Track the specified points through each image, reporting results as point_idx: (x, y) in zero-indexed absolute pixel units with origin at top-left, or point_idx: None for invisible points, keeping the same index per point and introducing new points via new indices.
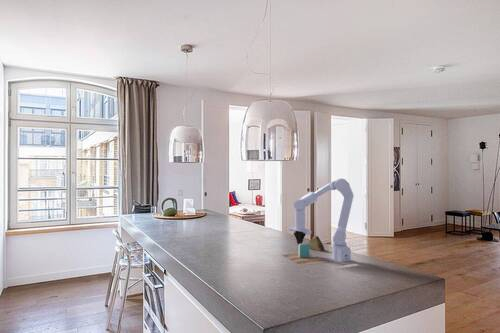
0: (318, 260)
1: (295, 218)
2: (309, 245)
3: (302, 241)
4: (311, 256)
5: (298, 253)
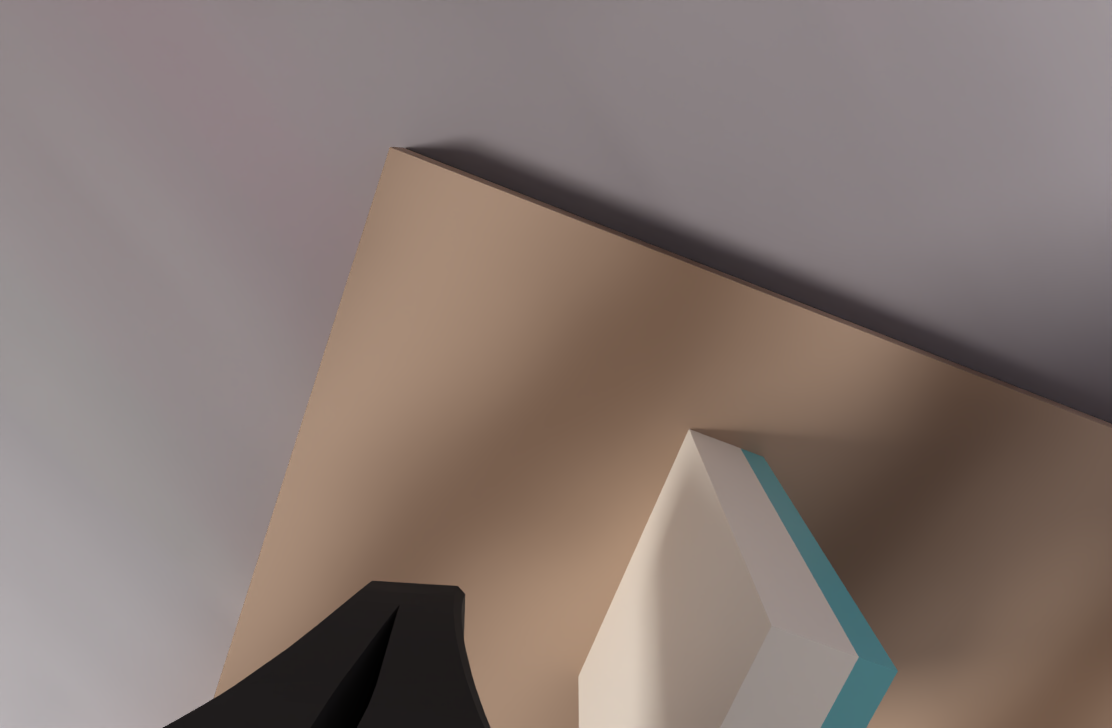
0: None
1: None
2: (866, 624)
3: (467, 672)
4: (803, 415)
5: (354, 420)
